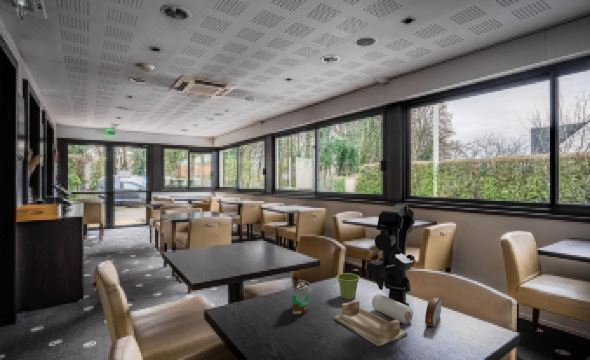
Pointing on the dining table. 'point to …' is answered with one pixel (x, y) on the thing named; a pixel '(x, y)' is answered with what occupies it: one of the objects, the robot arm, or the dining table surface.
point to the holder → (369, 324)
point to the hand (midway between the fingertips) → (390, 287)
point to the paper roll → (392, 308)
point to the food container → (301, 298)
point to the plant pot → (348, 285)
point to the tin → (433, 311)
